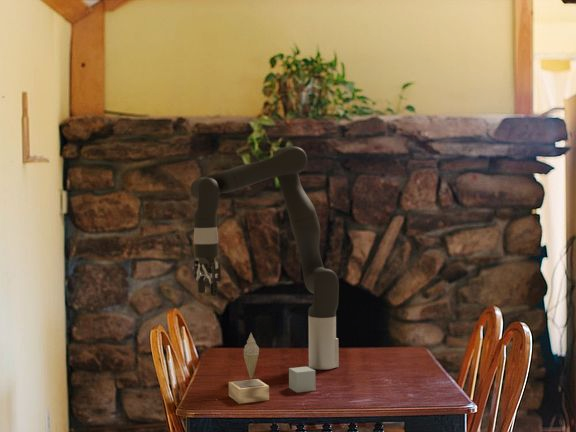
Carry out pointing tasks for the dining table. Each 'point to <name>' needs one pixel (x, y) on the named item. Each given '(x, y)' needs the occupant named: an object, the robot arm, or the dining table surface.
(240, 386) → the base
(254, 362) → the ice cream cone
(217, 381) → the dining table surface
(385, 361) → the dining table surface
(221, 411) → the dining table surface
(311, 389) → the cube
